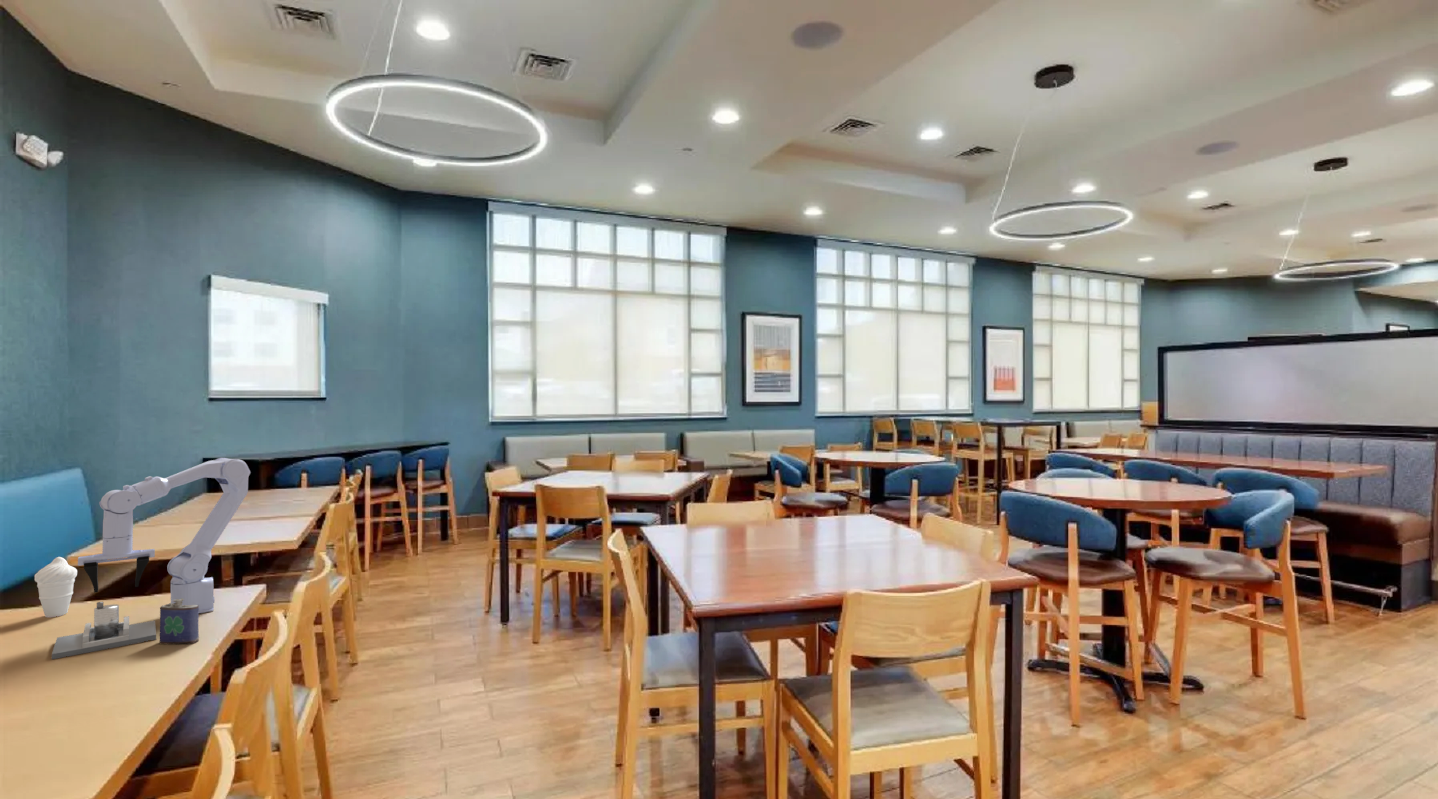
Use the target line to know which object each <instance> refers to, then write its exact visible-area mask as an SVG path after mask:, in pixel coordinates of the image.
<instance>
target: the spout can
mask: <svg viewBox="0 0 1438 799" xmlns="http://www.w3.org/2000/svg"><path fill="white" fill-rule="evenodd" d="M119 606H120V605H119V604H115V603H113V604H107V605H104V601H98V602H96V607H95V608H94V609H93V614H94V615H93V622H94V623H93V627H94V638H95V639H102V638H108V637H112V636H115V635H118V634H119V623H120V621H119V620H120V618H119V617H120V615H119V614H120V607H119Z"/></svg>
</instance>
